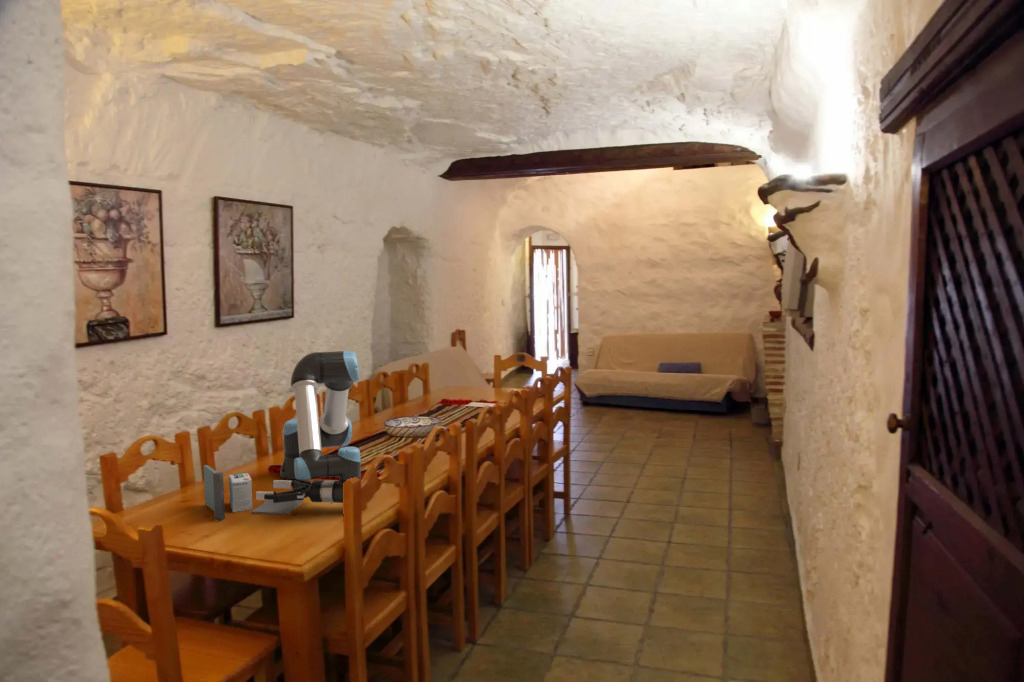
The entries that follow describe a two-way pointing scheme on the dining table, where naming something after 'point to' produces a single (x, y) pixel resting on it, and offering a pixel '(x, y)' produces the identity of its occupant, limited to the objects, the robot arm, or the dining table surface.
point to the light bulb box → (240, 492)
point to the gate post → (219, 496)
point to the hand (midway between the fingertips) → (265, 489)
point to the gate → (209, 486)
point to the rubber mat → (277, 507)
